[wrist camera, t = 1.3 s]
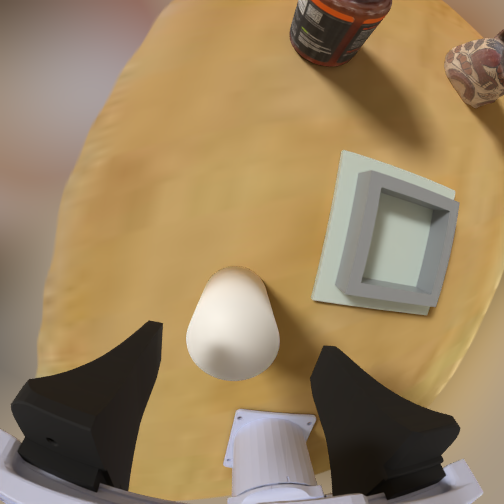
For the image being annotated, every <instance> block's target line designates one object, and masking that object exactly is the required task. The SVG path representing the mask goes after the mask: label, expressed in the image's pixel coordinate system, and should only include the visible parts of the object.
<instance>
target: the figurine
mask: <svg viewBox="0 0 504 504" xmlns="http://www.w3.org/2000/svg"><path fill="white" fill-rule="evenodd" d="M444 67H445V72H446V75H447V77H448V79H449V80H450V82H451V84H452V85H453V87H454V88H455V90H456V91H457V92H458V93H459V95H460V96H461V98H462V100H463V101H464V102H465V103H466V104H469V105H471V106H472V107H474V108H477V107H480V106H483V105H486V104H490V103H493V102H495V101H496V100H497V99H498V98H499V97H501V96H503V95H504V30H502V31H501V32H500V33H499V34H498V35H497V36H496V37H494V38H484V39H479V40H474V41H470V42H467V43H465V44H462V45H459V46H456V47H454V48H453V49H451V50H450V51H449V52H448V53H447V55H446V57H445V63H444Z"/></svg>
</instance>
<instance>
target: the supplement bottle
mask: <svg viewBox="0 0 504 504" xmlns="http://www.w3.org/2000/svg"><path fill="white" fill-rule="evenodd" d="M391 5H392V0H298V3H297V7H296V10H295V14H294V17H293V21H292V24H291V28H290V41H291V43H292V45H293V47H294V48H295V50H296V51H297V52H298V53H299V54H300V55H301V56H302V57H304V58H305V59H307V60H308V61H310V62H312V63H315V64H318V65H322V66H339V65H343V64H345V63H347V62H348V61H349V60H350V59H351V58H352V57H353V56H354V55H355V54H356V53H357V51H358V50H359V49H360V47H361V46H362V45H363V44H364V42H365V41H366V40H367V39H368V37H369V36H370V35H371V33H372V32H373V31H374V30H375V29H376V27H377V26H378V25H379V23H380V22H381V21H382V20H383V18H384V17H385V16H386V15H387V13H388V12H389V11H390V8H391Z"/></svg>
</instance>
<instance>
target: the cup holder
mask: <svg viewBox="0 0 504 504" xmlns="http://www.w3.org/2000/svg"><path fill="white" fill-rule="evenodd" d="M454 197H455V191H454V190H452V189H450V188H448V187H445V186H443V185H441V184H438V183H436V182H433V181H431V180H429V179H426V178H424V177H421V176H419V175H416V174H413V173H411V172H408V171H406V170H403V169H400V168H397V167H395V166H392V165H389V164H386V163H383V162H380V161H377V160H374V159H371V158H368V157H365V156H362V155H359V154H356V153H352V152H349V151H346V150H343V151H341V156H340V162H339V168H338V174H337V180H336V185H335V191H334V196H333V201H332V207H331V212H330V217H329V222H328V226H327V231H326V236H325V240H324V245H323V250H322V254H321V258H320V263H319V267H318V271H317V275H316V280H315V284H314V288H313V292H312V296H311V298H312V300H316V301H323V302H329V303H336V304H343V305H350V306H357V307H365V308H372V309H380V310H387V311H395V312H404V313H412V314H421V315H427V314H428V311H429V308H430V307H436V305H437V302H438V298H439V295H440V292H441V288H442V285H443V281H444V277H445V273H446V269H447V265H448V261H449V257H450V253H451V248H452V243H453V238H454V233H455V228H456V222H457V216H458V210H459V202H457V201H454Z"/></svg>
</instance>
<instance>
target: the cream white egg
mask: <svg viewBox="0 0 504 504" xmlns="http://www.w3.org/2000/svg"><path fill="white" fill-rule="evenodd" d="M186 342H187V348H188V351H189V354H190V356H191V358H192V359H193V361H194V362H195V363H196V365H197V366H198V367H199V368H200V369H202V370H203V371H204V372H206V373H207V374H209V375H211V376H213V377H216V378H219V379H222V380H229V381H239V380H245V379H249V378H252V377H255V376H257V375H259V374H260V373H262V372H263V371H265V370H266V369H267V368H268V367H269V366H270V365H271V364H272V362H273V361H274V359H275V357H276V356H277V353H278V350H279V345H280V338H279V332H278V328H277V325H276V321H275V318H274V315H273V311H272V308H271V304H270V301H269V298H268V294H267V291H266V287H265V285H264V283H263V281H262V279H261V278H260V277H259V276H258V275H257V274H256V273H255V272H253V271H251V270H250V269H247V268H244V267H240V266H230V267H226V268H223V269H220V270H219V271H217V272H216V273H214V274H213V275H212V276H211V277H210V279H209V280H208V282H207V284H206V286H205V288H204V291H203V293H202V295H201V298H200V300H199V302H198V305H197V307H196V310H195V312H194V314H193V317H192V319H191V322H190V324H189V327H188V330H187V335H186Z"/></svg>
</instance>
